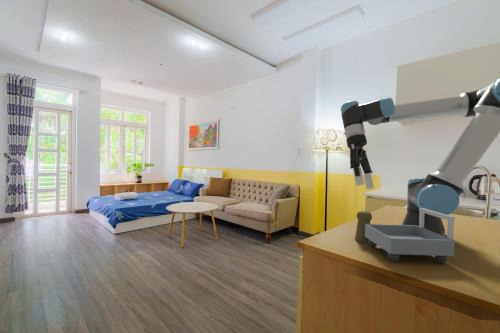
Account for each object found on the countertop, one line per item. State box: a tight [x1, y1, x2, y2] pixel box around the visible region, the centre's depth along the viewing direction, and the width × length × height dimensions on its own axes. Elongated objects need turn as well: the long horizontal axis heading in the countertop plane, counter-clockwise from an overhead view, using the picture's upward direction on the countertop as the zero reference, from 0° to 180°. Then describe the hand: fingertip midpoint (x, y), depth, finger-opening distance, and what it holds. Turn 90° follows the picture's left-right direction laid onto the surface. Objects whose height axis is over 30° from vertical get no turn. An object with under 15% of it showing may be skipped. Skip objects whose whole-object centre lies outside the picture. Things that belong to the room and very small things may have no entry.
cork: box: [354, 210, 373, 244], centre depth 88 cm, size 6×6×11 cm
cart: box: [365, 208, 456, 264], centre depth 75 cm, size 19×16×14 cm
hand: (365, 187), depth 91 cm, fingers open, 13 cm apart
